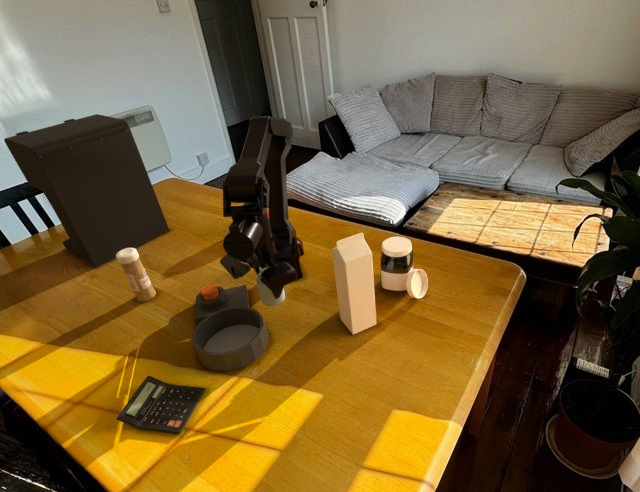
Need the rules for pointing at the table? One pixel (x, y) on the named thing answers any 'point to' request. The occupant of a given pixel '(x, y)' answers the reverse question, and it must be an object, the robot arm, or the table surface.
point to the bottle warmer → (230, 339)
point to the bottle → (268, 292)
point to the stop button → (209, 292)
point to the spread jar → (401, 268)
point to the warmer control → (221, 301)
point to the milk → (354, 283)
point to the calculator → (161, 406)
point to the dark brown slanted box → (92, 184)
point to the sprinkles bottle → (136, 274)
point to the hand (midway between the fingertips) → (271, 291)
